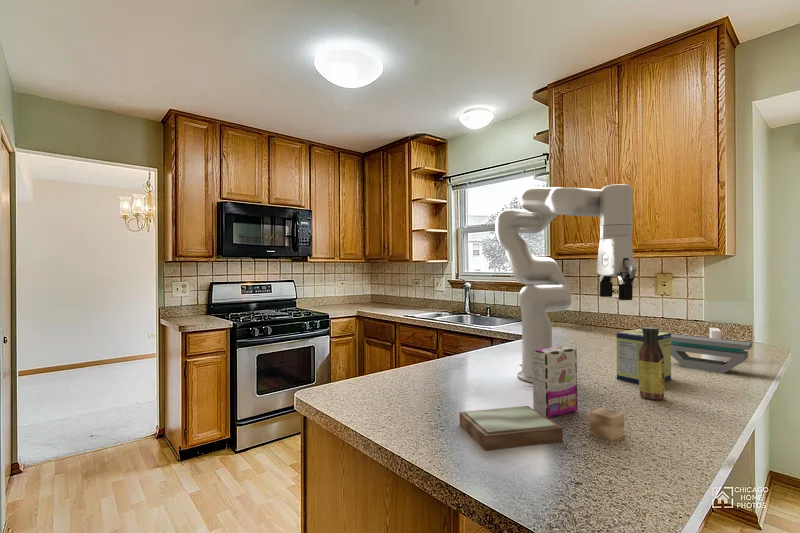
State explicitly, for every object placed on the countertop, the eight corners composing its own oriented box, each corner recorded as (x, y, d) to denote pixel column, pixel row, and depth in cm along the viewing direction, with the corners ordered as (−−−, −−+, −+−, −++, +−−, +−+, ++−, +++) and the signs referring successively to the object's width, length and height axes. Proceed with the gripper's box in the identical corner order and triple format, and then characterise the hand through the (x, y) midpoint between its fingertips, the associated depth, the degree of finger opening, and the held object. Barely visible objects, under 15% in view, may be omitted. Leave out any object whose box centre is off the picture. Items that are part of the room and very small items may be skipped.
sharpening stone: (663, 364, 156) (663, 335, 156) (669, 361, 161) (669, 333, 161) (748, 377, 138) (748, 345, 137) (752, 373, 143) (752, 342, 143)
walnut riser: (459, 424, 97) (459, 410, 97) (527, 417, 101) (527, 404, 101) (485, 450, 84) (485, 434, 83) (562, 441, 88) (562, 426, 88)
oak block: (590, 433, 92) (590, 411, 92) (602, 428, 95) (602, 407, 95) (612, 441, 88) (612, 418, 88) (624, 436, 91) (624, 413, 91)
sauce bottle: (668, 401, 113) (668, 330, 113) (643, 400, 115) (643, 329, 115) (658, 394, 120) (658, 326, 120) (635, 393, 121) (635, 325, 121)
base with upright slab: (730, 363, 158) (730, 331, 158) (701, 360, 163) (702, 329, 163) (727, 358, 166) (728, 328, 166) (700, 355, 171) (700, 327, 170)
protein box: (671, 379, 136) (671, 332, 136) (649, 387, 127) (649, 337, 127) (638, 372, 145) (638, 328, 144) (615, 379, 136) (615, 332, 136)
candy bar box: (562, 405, 110) (562, 344, 110) (578, 411, 106) (578, 348, 106) (531, 412, 105) (531, 348, 105) (546, 419, 101) (546, 352, 101)
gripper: (586, 235, 116) (586, 295, 116) (618, 230, 98) (618, 301, 98) (613, 235, 115) (612, 295, 116) (650, 230, 98) (649, 301, 98)
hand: (615, 298), depth 107 cm, fingers open, 9 cm apart
